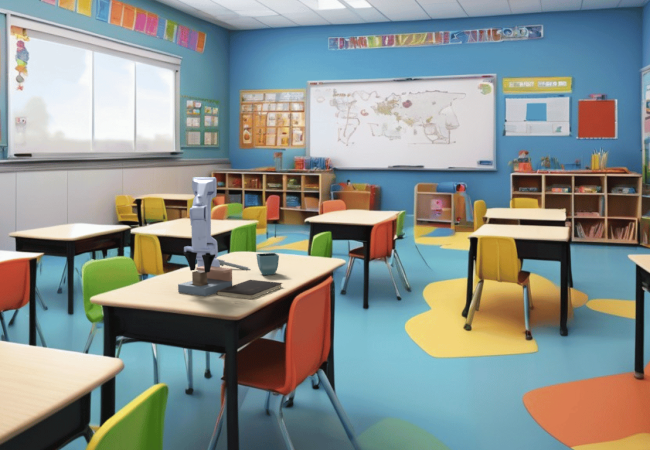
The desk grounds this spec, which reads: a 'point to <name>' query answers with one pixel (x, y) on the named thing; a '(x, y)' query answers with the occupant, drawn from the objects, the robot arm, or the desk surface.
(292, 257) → the desk surface
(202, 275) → the walnut peg
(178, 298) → the desk surface
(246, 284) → the hardcover book
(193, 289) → the socket block
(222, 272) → the salmon pink block
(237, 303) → the desk surface
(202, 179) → the robot arm
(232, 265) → the caliper
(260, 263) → the flower pot
